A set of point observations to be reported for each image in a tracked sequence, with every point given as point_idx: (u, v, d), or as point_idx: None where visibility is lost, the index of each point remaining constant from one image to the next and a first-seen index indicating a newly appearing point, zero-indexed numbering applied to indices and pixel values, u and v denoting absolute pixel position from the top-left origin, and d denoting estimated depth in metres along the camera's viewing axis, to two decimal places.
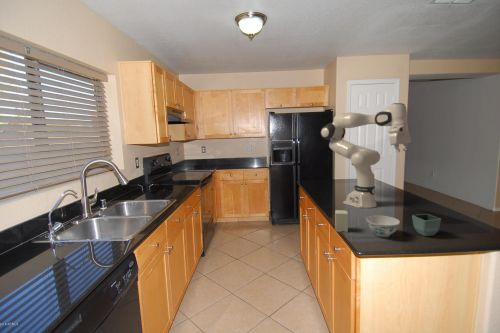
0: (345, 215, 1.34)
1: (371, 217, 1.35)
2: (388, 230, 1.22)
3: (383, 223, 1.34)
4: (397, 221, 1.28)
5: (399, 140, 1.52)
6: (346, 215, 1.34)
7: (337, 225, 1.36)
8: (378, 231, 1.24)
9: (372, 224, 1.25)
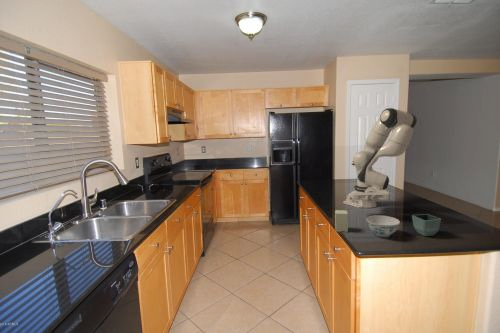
0: (345, 215, 1.34)
1: (371, 217, 1.35)
2: (388, 230, 1.22)
3: (383, 223, 1.34)
4: (397, 221, 1.28)
5: None
6: (346, 215, 1.34)
7: (337, 225, 1.36)
8: (378, 231, 1.24)
9: (372, 224, 1.25)
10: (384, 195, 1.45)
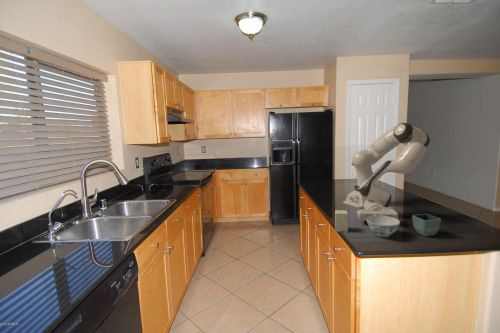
0: (345, 215, 1.34)
1: (371, 217, 1.35)
2: (388, 230, 1.22)
3: (383, 223, 1.34)
4: (397, 221, 1.28)
5: None
6: (346, 215, 1.34)
7: (337, 225, 1.36)
8: (378, 231, 1.24)
9: (372, 224, 1.25)
10: (393, 215, 1.38)
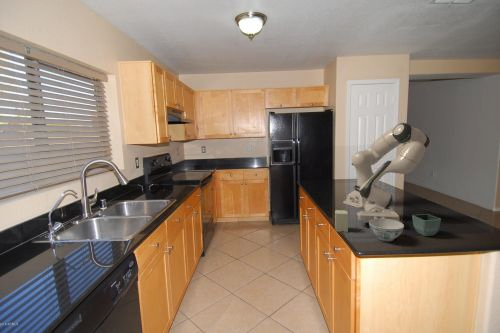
0: (345, 215, 1.34)
1: (373, 220, 1.30)
2: (393, 234, 1.17)
3: (385, 226, 1.29)
4: (400, 224, 1.24)
5: None
6: (346, 215, 1.34)
7: (337, 225, 1.36)
8: (383, 235, 1.19)
9: (377, 228, 1.20)
10: (394, 217, 1.34)
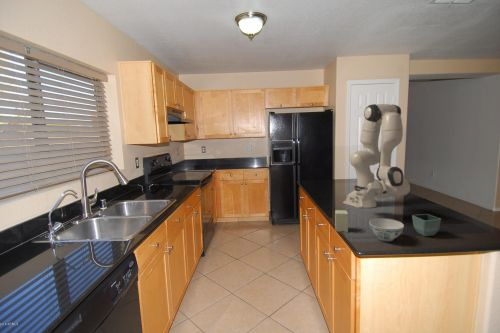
0: (345, 215, 1.34)
1: (373, 220, 1.30)
2: (393, 234, 1.17)
3: (385, 226, 1.29)
4: (400, 224, 1.24)
5: (372, 191, 1.47)
6: (346, 215, 1.34)
7: (337, 225, 1.36)
8: (383, 235, 1.19)
9: (377, 228, 1.20)
10: (367, 186, 1.46)
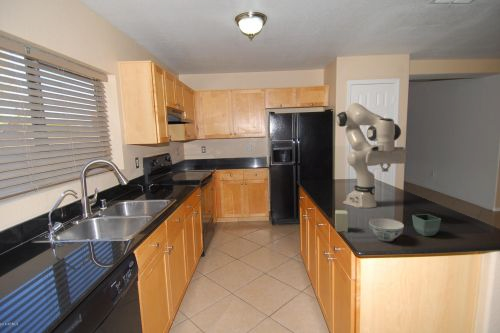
0: (345, 215, 1.34)
1: (373, 220, 1.30)
2: (393, 234, 1.17)
3: (385, 226, 1.29)
4: (400, 224, 1.24)
5: (375, 159, 1.44)
6: (346, 215, 1.34)
7: (337, 225, 1.36)
8: (383, 235, 1.19)
9: (376, 228, 1.20)
10: None
